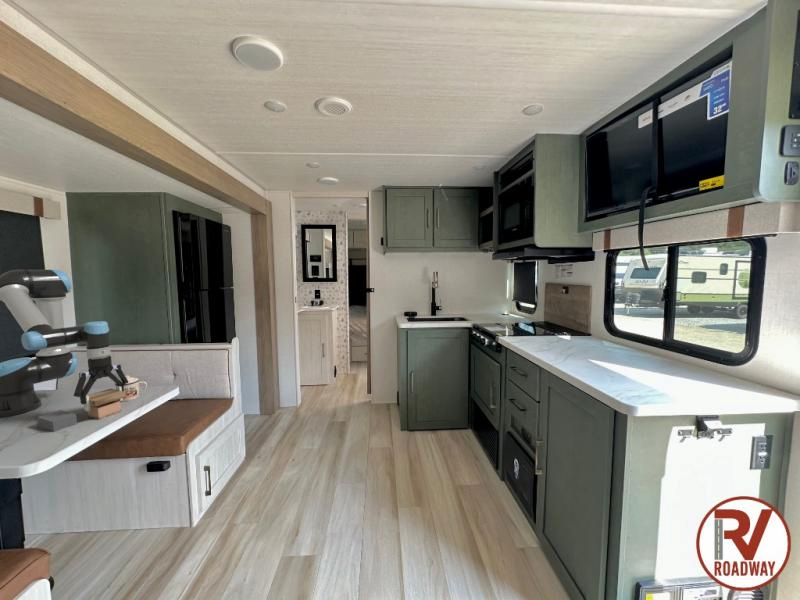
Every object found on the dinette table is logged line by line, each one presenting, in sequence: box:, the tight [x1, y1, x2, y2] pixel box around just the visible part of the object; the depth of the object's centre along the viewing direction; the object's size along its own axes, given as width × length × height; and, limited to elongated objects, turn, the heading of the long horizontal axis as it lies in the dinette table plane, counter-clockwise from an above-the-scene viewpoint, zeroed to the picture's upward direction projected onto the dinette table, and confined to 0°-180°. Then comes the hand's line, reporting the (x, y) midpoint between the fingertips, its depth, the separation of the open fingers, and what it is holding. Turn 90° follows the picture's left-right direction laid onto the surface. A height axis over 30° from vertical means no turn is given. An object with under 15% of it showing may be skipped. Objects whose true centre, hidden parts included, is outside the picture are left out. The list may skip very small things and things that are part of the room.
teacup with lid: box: [114, 374, 148, 403], centre depth 158 cm, size 12×9×12 cm
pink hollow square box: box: [87, 400, 122, 420], centre depth 140 cm, size 8×8×5 cm
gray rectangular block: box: [37, 409, 78, 432], centre depth 130 cm, size 12×7×4 cm, turn 69°
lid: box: [79, 388, 126, 407], centre depth 140 cm, size 11×11×2 cm
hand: (104, 405), depth 140 cm, fingers closed on lid, 11 cm apart
